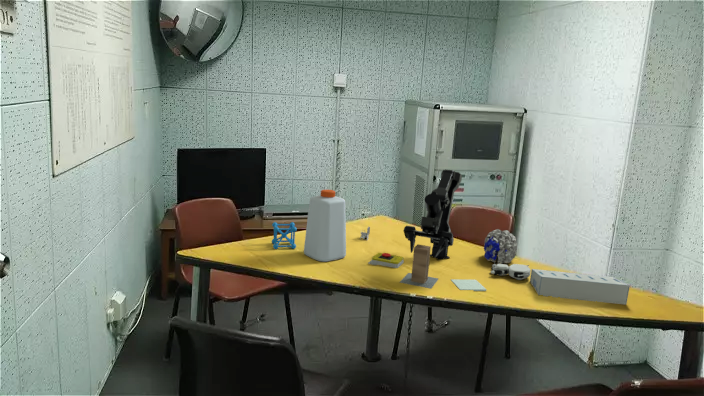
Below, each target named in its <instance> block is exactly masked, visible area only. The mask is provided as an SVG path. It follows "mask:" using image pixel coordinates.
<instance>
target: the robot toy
mask: <svg viewBox="0 0 704 396" xmlns="http://www.w3.org/2000/svg"><path fill="white" fill-rule="evenodd" d="M490 273H491V274H492V275H494V276H495V275H496V276H501V277H502V276H508V275H509V276H510V277H511V278H514V279H516V280H517V281H522V280H524V279H527V278H529V277H531V268H530V264H528V265H526V264H519V263H513V264H511V265H508V264H506V263H501V264H499V263H494V264H491V268H490Z"/></svg>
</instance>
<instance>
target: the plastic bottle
mask: <svg viewBox="0 0 704 396" xmlns="http://www.w3.org/2000/svg"><path fill="white" fill-rule="evenodd" d="M346 209H347V207H346V200H345V199H344V198H343V197H340V196H336V191H335V190H333V189H321V190H320V195H319V194H318V195H313V196H311V197H310V198H309V204H308V212H307V221H306V229H305V237H304V238H305V239H304V247H303V253H304V255H305V256H306V257H309V258H311V259H313V260H315V261H318V262H323V263H324V262H325V263H327V262H332V261H336V260H341V259H344V258H345V257H346V256H347V229H346V228H347V226H346V225H347V224H346V223H347V220H346Z"/></svg>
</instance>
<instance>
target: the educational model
mask: <svg viewBox="0 0 704 396" xmlns="http://www.w3.org/2000/svg"><path fill="white" fill-rule="evenodd" d="M483 243H484V244H483V245H484V247H483V251H484V256H483V257H484V258H485V259H486V260H487V261H488V262H489V261H491V262H493V263H494V264H496V262H497V264H509V263H511V262H512V261H513V260H514V259H515V258H516V256H517V254H516V252H517V250H518V242H517V238H516V236H514V234H513V233H510V231H509V230H506V229H505V230H501V229H499V228H497V229H495V230H492V231H490V232H489V233H488V234H487V236H486V237H485V239H484V242H483Z"/></svg>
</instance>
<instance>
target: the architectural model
mask: <svg viewBox="0 0 704 396" xmlns="http://www.w3.org/2000/svg"><path fill="white" fill-rule="evenodd" d="M370 231H371V227H370V226H368V227H367V231H366V230H363V229H362V230H361V231H360V240H365V238H367V239H366V241H368V240H369V235H370V233H371V232H370ZM361 238H363V239H361Z"/></svg>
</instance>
